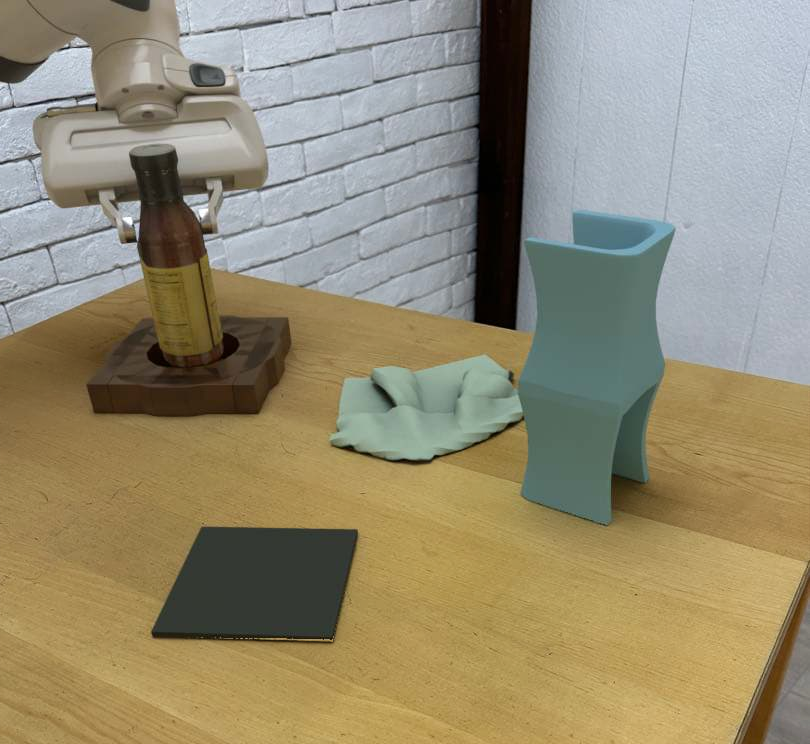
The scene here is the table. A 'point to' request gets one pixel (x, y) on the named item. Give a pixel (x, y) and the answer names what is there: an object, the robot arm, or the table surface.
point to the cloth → (426, 409)
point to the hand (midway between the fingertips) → (170, 235)
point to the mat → (259, 584)
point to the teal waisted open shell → (592, 360)
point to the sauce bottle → (175, 262)
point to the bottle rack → (193, 372)
